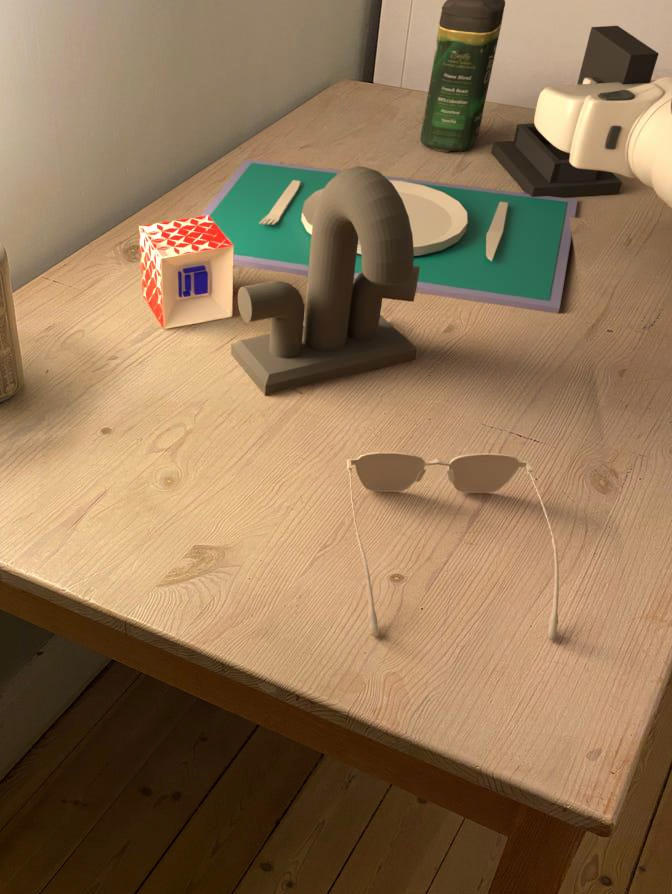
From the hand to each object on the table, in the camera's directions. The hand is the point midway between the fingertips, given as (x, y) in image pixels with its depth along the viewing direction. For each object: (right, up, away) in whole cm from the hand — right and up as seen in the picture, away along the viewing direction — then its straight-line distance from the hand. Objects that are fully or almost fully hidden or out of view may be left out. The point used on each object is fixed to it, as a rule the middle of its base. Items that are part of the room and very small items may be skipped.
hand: (607, 84), depth 103 cm
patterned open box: (-46, -24, +2) cm, 52 cm away
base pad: (+4, +3, +26) cm, 26 cm away
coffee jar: (-8, +11, +34) cm, 37 cm away
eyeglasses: (-25, -54, -27) cm, 66 cm away
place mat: (-22, -10, +15) cm, 28 cm away
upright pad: (0, -4, +3) cm, 6 cm away
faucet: (-31, -34, -8) cm, 47 cm away
